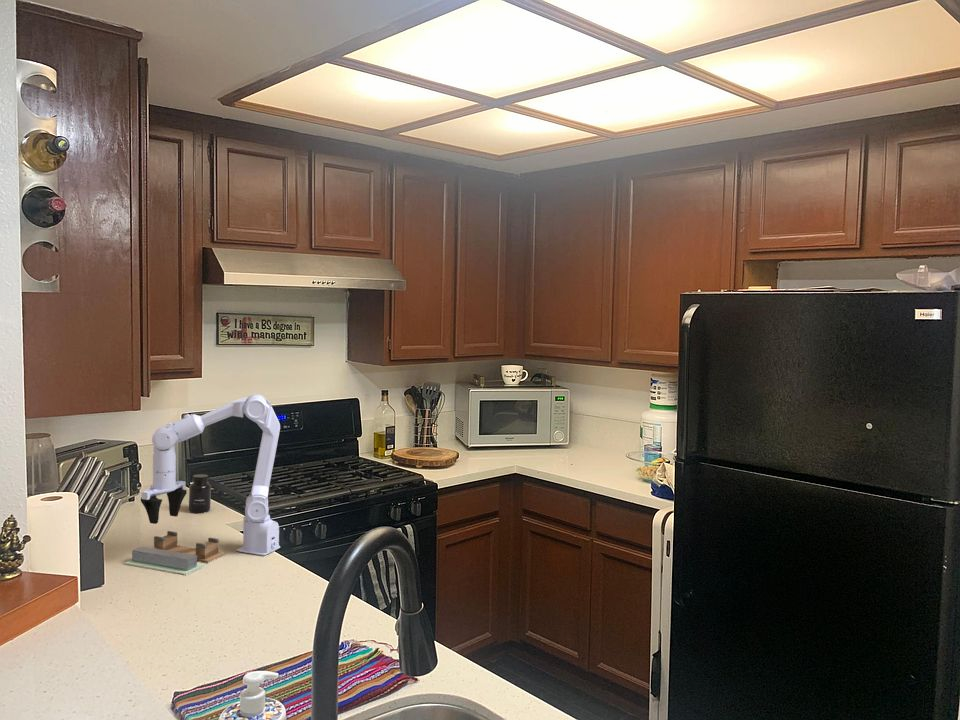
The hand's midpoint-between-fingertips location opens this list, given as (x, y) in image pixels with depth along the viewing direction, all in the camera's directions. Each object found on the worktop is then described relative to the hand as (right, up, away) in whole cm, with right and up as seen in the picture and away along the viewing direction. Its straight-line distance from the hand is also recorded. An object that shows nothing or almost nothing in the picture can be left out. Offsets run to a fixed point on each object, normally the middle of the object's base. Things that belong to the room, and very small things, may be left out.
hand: (164, 519), depth 200 cm
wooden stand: (+5, -10, +2) cm, 11 cm away
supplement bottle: (-7, -7, +44) cm, 45 cm away
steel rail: (+3, -10, -7) cm, 13 cm away
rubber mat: (+3, -11, -7) cm, 13 cm away
